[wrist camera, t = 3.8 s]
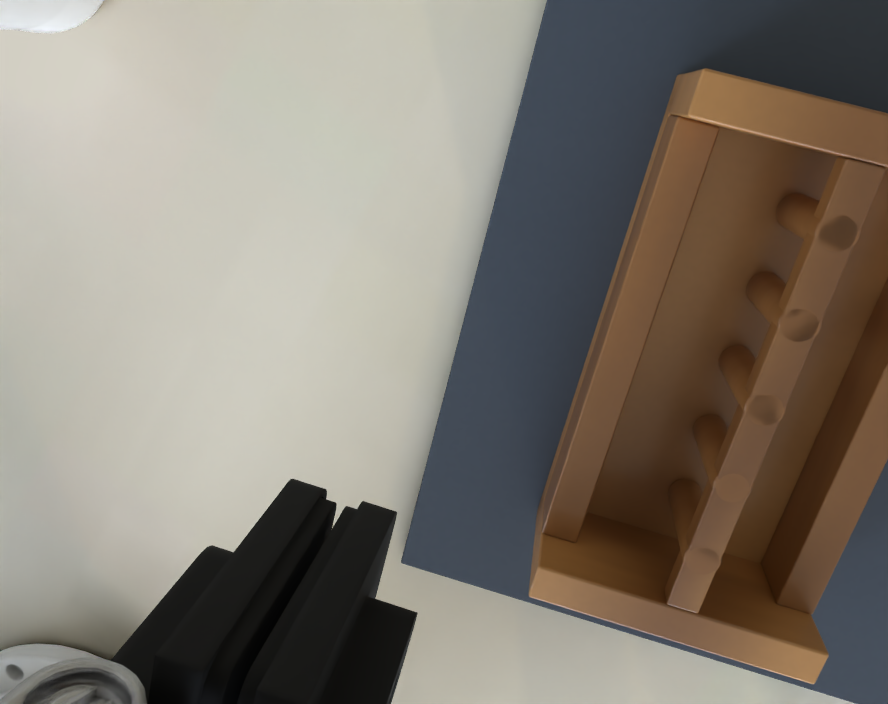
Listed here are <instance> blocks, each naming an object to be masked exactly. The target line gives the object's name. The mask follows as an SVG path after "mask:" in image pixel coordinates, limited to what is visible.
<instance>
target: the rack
mask: <svg viewBox="0 0 888 704" xmlns="http://www.w3.org/2000/svg"><path fill="white" fill-rule="evenodd" d="M887 460H888V113H885V112H881V111H877V110H873V109H869V108H864V107H860V106H856V105H852V104H848V103H844V102H840V101H836V100H832V99H828V98H824V97H820V96H816V95H812V94H808V93H804V92H800V91H796V90H792V89H788V88H784V87H780V86H776V85H772V84H768V83H764V82H760V81H756V80H752V79H748V78H744V77H740V76H736V75H732V74H727V73H723V72H719V71H715V70H711V69H707V68H705V69H700V70H697V71H693V72H689V73H685V74H680V75H677V77H676V80H675V84H674V87H673V90H672V93H671V96H670V99H669V102H668V105H667V108H666V112H665V115H664V118H663V121H662V124H661V127H660V130H659V133H658V136H657V140H656V143H655V146H654V149H653V152H652V155H651V158H650V161H649V164H648V167H647V171H646V174H645V177H644V180H643V183H642V186H641V189H640V192H639V195H638V199H637V202H636V205H635V208H634V211H633V214H632V217H631V220H630V223H629V227H628V230H627V233H626V236H625V239H624V242H623V245H622V248H621V251H620V255H619V258H618V261H617V264H616V267H615V270H614V273H613V276H612V279H611V283H610V286H609V289H608V292H607V295H606V298H605V301H604V304H603V307H602V311H601V314H600V317H599V320H598V323H597V326H596V329H595V332H594V335H593V339H592V342H591V345H590V348H589V351H588V354H587V357H586V360H585V363H584V367H583V370H582V373H581V376H580V379H579V382H578V385H577V388H576V391H575V395H574V398H573V401H572V404H571V407H570V410H569V413H568V416H567V419H566V423H565V426H564V429H563V432H562V435H561V438H560V441H559V444H558V447H557V451H556V454H555V457H554V460H553V463H552V466H551V469H550V472H549V475H548V479H547V482H546V485H545V488H544V491H543V494H542V497H541V500H540V503H539V507H538V510H537V517H536V528H535V537H534V547H533V556H532V566H531V575H530V584H529V597H531V598H534V599H537V600H541V601H544V602H547V603H550V604H554V605H557V606H560V607H563V608H567V609H570V610H573V611H576V612H580V613H583V614H586V615H589V616H593V617H596V618H599V619H602V620H606V621H609V622H612V623H615V624H619V625H622V626H625V627H628V628H632V629H635V630H638V631H641V632H645V633H648V634H651V635H654V636H658V637H661V638H664V639H667V640H671V641H674V642H677V643H680V644H683V645H687V646H690V647H693V648H696V649H700V650H703V651H706V652H709V653H713V654H716V655H719V656H722V657H726V658H729V659H732V660H735V661H739V662H742V663H745V664H748V665H752V666H755V667H758V668H761V669H765V670H768V671H771V672H774V673H778V674H781V675H784V676H787V677H791V678H794V679H797V680H800V681H804V682H807V683H810V684H815V682H816V680H817V678H818V676H819V674H820V672H821V670H822V668H823V666H824V664H825V662H826V660H827V658H828V656H829V654H828V651H827V649H826V647H825V645H824V642H823V640H822V638H821V636H820V633H819V631H818V629H817V627H816V625H815V622H814V620H813V618H812V616H811V614H813V613H814V611H815V609H816V607H817V604H818V602H819V600H820V598H821V596H822V594H823V592H824V590H825V588H826V586H827V584H828V582H829V580H830V578H831V576H832V573H833V571H834V569H835V567H836V565H837V563H838V561H839V559H840V557H841V555H842V553H843V551H844V549H845V547H846V545H847V542H848V540H849V538H850V536H851V534H852V532H853V530H854V528H855V526H856V524H857V522H858V520H859V518H860V516H861V514H862V511H863V509H864V507H865V505H866V503H867V501H868V499H869V497H870V495H871V493H872V491H873V489H874V487H875V485H876V483H877V480H878V478H879V476H880V474H881V472H882V470H883V468H884V466H885V464H886V462H887Z"/></svg>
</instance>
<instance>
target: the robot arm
mask: <svg viewBox="0 0 888 704" xmlns="http://www.w3.org/2000/svg"><path fill="white" fill-rule="evenodd" d="M326 496H327V491H326V489H323V488H320V487H317V486H314V485H311V484H307V483H304V482H301V481H298V480H295V479H291V480H290V481H289V482H288V483H287V484H286V485H285V487H284V488H283V489H282V491H281V492H280V493H279V495H278V496H277V497H276V498H275V500H274V501H273V502H272V504H271V505H270V506H269V507H268V509H267V510H266V511H265V513H264V514H263V515H262V517H261V518H260V519H259V520H258V522H257V523H256V524H255V526H254V527H253V528H252V529H251V531H250V532H249V533H248V535H247V536H246V537H245V539H244V540H243V541H242V542H241V544H240V545H239V546H238V548H237V549H236V550H235V551H234V552H231V551H228V550H224V549H221V548H218V547H215V546H209V547H207V548H206V549H205V550H204V551H203V552H201V554H200V555H199V556H198V557H197V558H196V560H195V561H194V562H193V563H192V564H191V565H190V567H189V568H188V569H187V570H186V571H185V573H184V574H183V575H182V576H181V577H180V579H179V580H178V581H177V582H176V583H175V585H174V586H173V587H172V588H171V589H170V590H169V592H168V593H167V594H166V595H165V596H164V598H163V599H162V600H161V601H160V602H159V604H158V605H157V606H156V607H155V608H154V609H153V611H152V612H151V613H150V614H149V615H148V617H147V618H146V619H145V620H144V621H143V623H142V624H141V625H140V626H139V627H138V628H137V630H136V631H135V632H134V633H133V634H132V636H131V637H130V638H129V639H128V640H127V642H126V643H125V644H124V645H123V646H122V647H121V649H120V650H119V651H118V652H117V653H116V655H115V656H114V657H113V658H112V659H111V661H109V660H106V659H103V658H100V657H98V656H96V655H93V654H91V653H88V652H86V651H82V650H78V649H74V648H70V647H66V646H62V645H51V644H28V645H19V646H14V647H11V648H8V649H5V650H1V651H0V704H391V702H392V699H393V695H394V692H395V689H396V686H397V682H398V679H399V676H400V673H401V669H402V666H403V663H404V659H405V656H406V652H407V649H408V645H409V642H410V638H411V635H412V631H413V628H414V624H415V621H416V617H417V612H413V611H410V610H407V609H404V608H401V607H398V606H395V605H392V604H389V603H386V602H383V601H380V600H377V599H375V597H376V594H377V590H378V586H379V582H380V578H381V574H382V571H383V567H384V563H385V559H386V555H387V551H388V548H389V544H390V540H391V536H392V532H393V528H394V525H395V520H396V515H397V512H396V511H392V510H389V509H386V508H383V507H380V506H377V505H374V504H370V503H367V502H364V501H363V502H361V504H360V505H359V507H358V509H354V508H351V507H348V506H346V507H345V508H344V510H343V511H342V513H341V515H340V517H339V518H338V520H337V522H336V523H335V525H334V527H333V528H332V525H333V521H334V516H335V512H336V503H335V502H332V501H329V500H326ZM331 529H332V530H331Z"/></svg>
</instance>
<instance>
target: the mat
mask: <svg viewBox="0 0 888 704" xmlns="http://www.w3.org/2000/svg"><path fill="white" fill-rule="evenodd" d="M705 68H707V69H711V70H715V71H719V72H723V73H727V74H732V75H736V76H740V77H744V78H748V79H752V80H756V81H760V82H764V83H768V84H772V85H776V86H780V87H784V88H788V89H792V90H796V91H800V92H804V93H808V94H812V95H816V96H820V97H824V98H828V99H832V100H836V101H840V102H844V103H848V104H852V105H856V106H860V107H864V108H869V109H873V110H877V111H881V112H885V113H888V0H547V3H546V7H545V10H544V14H543V18H542V22H541V26H540V30H539V33H538V37H537V41H536V45H535V49H534V53H533V56H532V60H531V64H530V68H529V72H528V76H527V80H526V83H525V87H524V91H523V95H522V99H521V103H520V106H519V110H518V114H517V118H516V122H515V126H514V129H513V133H512V137H511V141H510V145H509V149H508V153H507V156H506V160H505V164H504V168H503V172H502V176H501V179H500V183H499V187H498V191H497V195H496V199H495V202H494V206H493V210H492V214H491V218H490V222H489V226H488V229H487V233H486V237H485V241H484V245H483V249H482V252H481V256H480V260H479V264H478V268H477V272H476V275H475V279H474V283H473V287H472V291H471V295H470V299H469V302H468V306H467V310H466V314H465V318H464V322H463V325H462V329H461V333H460V337H459V341H458V345H457V349H456V352H455V356H454V360H453V364H452V368H451V372H450V375H449V379H448V383H447V387H446V391H445V395H444V398H443V402H442V406H441V410H440V414H439V418H438V422H437V425H436V429H435V433H434V437H433V441H432V445H431V448H430V452H429V456H428V460H427V464H426V468H425V471H424V475H423V479H422V483H421V487H420V491H419V495H418V498H417V502H416V506H415V510H414V514H413V518H412V521H411V525H410V529H409V533H408V537H407V541H406V544H405V548H404V552H403V556H402V560H401V563H403V564H406V565H409V566H412V567H416V568H419V569H422V570H425V571H429V572H432V573H435V574H438V575H442V576H445V577H448V578H451V579H455V580H458V581H461V582H464V583H468V584H471V585H474V586H477V587H480V588H484V589H487V590H490V591H493V592H497V593H500V594H503V595H506V596H510V597H513V598H516V599H519V600H523V601H526V602H529V603H532V604H536V605H539V606H542V607H545V608H548V609H552V610H555V611H558V612H561V613H565V614H568V615H571V616H574V617H578V618H581V619H584V620H587V621H591V622H594V623H597V624H600V625H604V626H607V627H610V628H613V629H616V630H620V631H623V632H626V633H629V634H633V635H636V636H639V637H642V638H646V639H649V640H652V641H655V642H659V643H662V644H665V645H668V646H672V647H675V648H678V649H681V650H684V651H688V652H691V653H694V654H697V655H701V656H704V657H707V658H710V659H714V660H717V661H720V662H723V663H727V664H730V665H733V666H736V667H740V668H743V669H746V670H749V671H752V672H756V673H759V674H762V675H765V676H769V677H772V678H775V679H778V680H782V681H785V682H788V683H791V684H795V685H798V686H801V687H804V688H808V689H811V690H814V691H817V692H820V693H824V694H827V695H830V696H833V697H837V698H840V699H843V700H846V701H850V702H853V703H856V704H888V460H887V462H886V464H885V466H884V468H883V470H882V472H881V474H880V476H879V478H878V480H877V483H876V485H875V487H874V489H873V491H872V493H871V495H870V497H869V499H868V501H867V503H866V505H865V507H864V509H863V511H862V514H861V516H860V518H859V520H858V522H857V524H856V526H855V528H854V530H853V532H852V534H851V536H850V538H849V540H848V542H847V545H846V547H845V549H844V551H843V553H842V555H841V557H840V559H839V561H838V563H837V565H836V567H835V569H834V571H833V573H832V576H831V578H830V580H829V582H828V584H827V586H826V588H825V590H824V592H823V594H822V596H821V598H820V600H819V602H818V604H817V607H816V609H815V611H814V613H813V614H811V616H812V618H813V620H814V622H815V625H816V627H817V629H818V631H819V633H820V636H821V638H822V640H823V642H824V645H825V647H826V649H827V651H828V654H829V656H828V658H827V660H826V662H825V664H824V666H823V668H822V670H821V672H820V674H819V676H818V678H817V680H816V682H815V684H810V683H807V682H804V681H800V680H797V679H794V678H791V677H787V676H784V675H781V674H778V673H774V672H771V671H768V670H765V669H761V668H758V667H755V666H752V665H748V664H745V663H742V662H739V661H735V660H732V659H729V658H726V657H722V656H719V655H716V654H713V653H709V652H706V651H703V650H700V649H696V648H693V647H690V646H687V645H683V644H680V643H677V642H674V641H671V640H667V639H664V638H661V637H658V636H654V635H651V634H648V633H645V632H641V631H638V630H635V629H632V628H628V627H625V626H622V625H619V624H615V623H612V622H609V621H606V620H602V619H599V618H596V617H593V616H589V615H586V614H583V613H580V612H576V611H573V610H570V609H567V608H563V607H560V606H557V605H554V604H550V603H547V602H544V601H541V600H537V599H534V598H531V597H529V584H530V575H531V566H532V556H533V547H534V537H535V528H536V517H537V510H538V507H539V503H540V500H541V497H542V494H543V491H544V488H545V485H546V482H547V479H548V475H549V472H550V469H551V466H552V463H553V460H554V457H555V454H556V451H557V447H558V444H559V441H560V438H561V435H562V432H563V429H564V426H565V423H566V419H567V416H568V413H569V410H570V407H571V404H572V401H573V398H574V395H575V391H576V388H577V385H578V382H579V379H580V376H581V373H582V370H583V367H584V363H585V360H586V357H587V354H588V351H589V348H590V345H591V342H592V339H593V335H594V332H595V329H596V326H597V323H598V320H599V317H600V314H601V311H602V307H603V304H604V301H605V298H606V295H607V292H608V289H609V286H610V283H611V279H612V276H613V273H614V270H615V267H616V264H617V261H618V258H619V255H620V251H621V248H622V245H623V242H624V239H625V236H626V233H627V230H628V227H629V223H630V220H631V217H632V214H633V211H634V208H635V205H636V202H637V199H638V195H639V192H640V189H641V186H642V183H643V180H644V177H645V174H646V171H647V167H648V164H649V161H650V158H651V155H652V152H653V149H654V146H655V143H656V140H657V136H658V133H659V130H660V127H661V124H662V121H663V118H664V115H665V112H666V108H667V105H668V102H669V99H670V96H671V93H672V90H673V87H674V84H675V80H676V77H677V75H680V74H685V73H689V72H693V71H697V70H700V69H705Z"/></svg>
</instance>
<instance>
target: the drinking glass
mask: <svg viewBox="0 0 888 704" xmlns="http://www.w3.org/2000/svg"><path fill="white" fill-rule="evenodd" d="M103 1H104V0H0V30H18V31H27V32H35V33H58V32H64V31H67V30H70V29H73V28H75V27H77V26H79V25H81V24H82V23H84V22H85V21H87V20H88V19H89V18H90V17H91V16H92V15H93V14H94V13H95V12H96V11H97V10H98V9H99V7H100V6H101V4H102V3H103Z"/></svg>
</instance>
